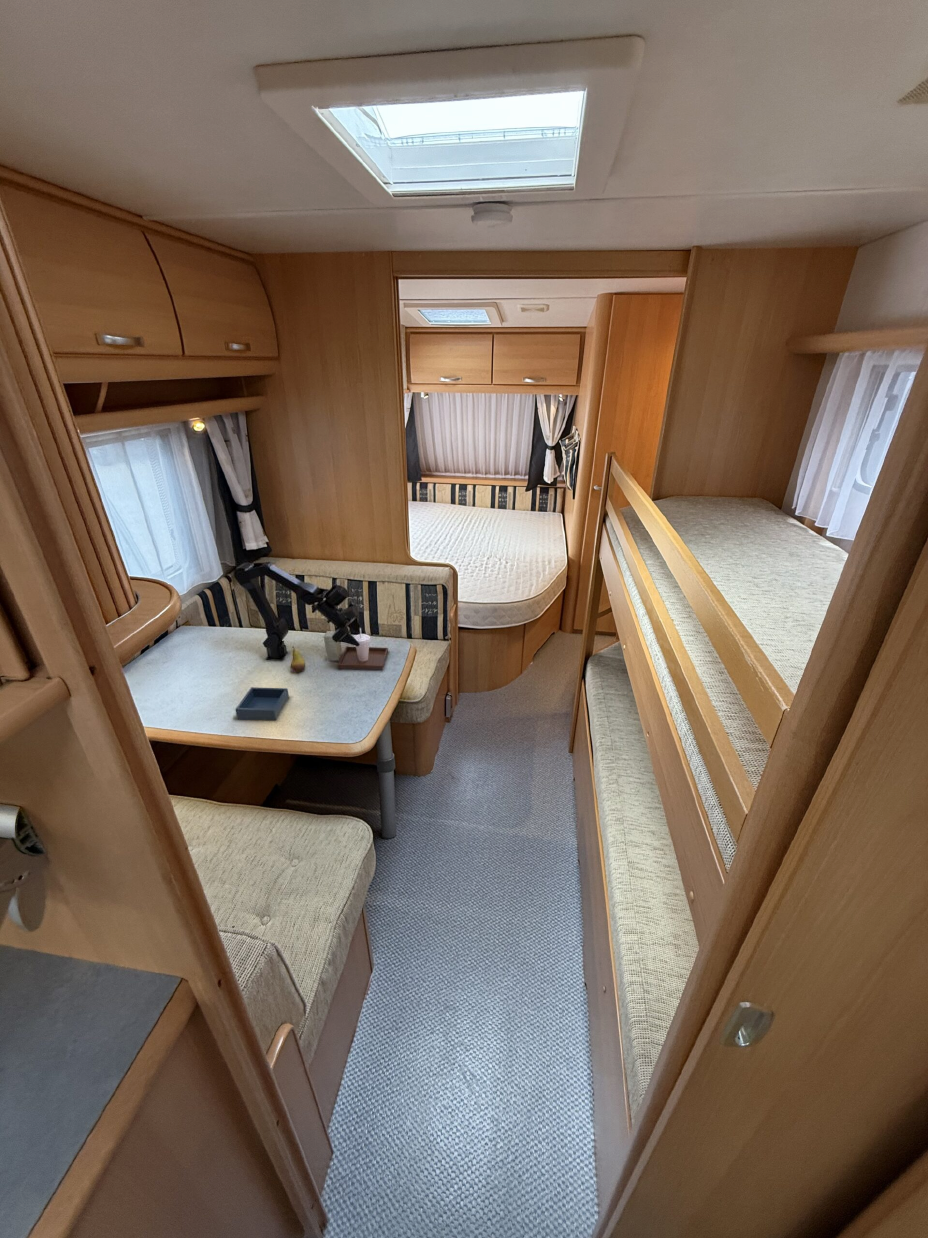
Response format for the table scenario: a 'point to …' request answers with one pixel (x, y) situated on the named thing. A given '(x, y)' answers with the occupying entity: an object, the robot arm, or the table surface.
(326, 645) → the box
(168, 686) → the table surface
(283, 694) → the bin
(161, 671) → the table surface
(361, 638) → the smoothie
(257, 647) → the table surface
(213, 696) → the table surface
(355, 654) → the tray
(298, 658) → the fruit
